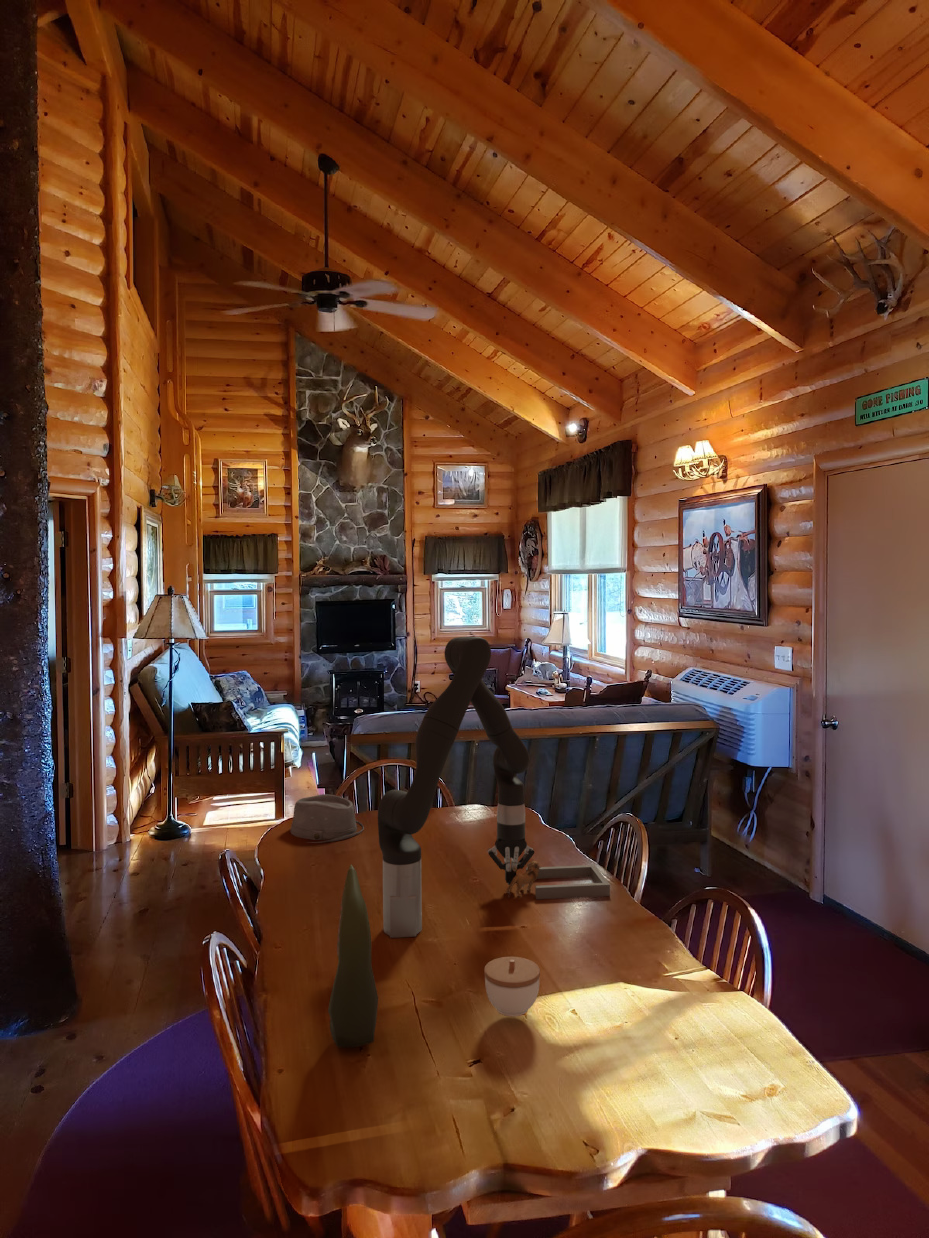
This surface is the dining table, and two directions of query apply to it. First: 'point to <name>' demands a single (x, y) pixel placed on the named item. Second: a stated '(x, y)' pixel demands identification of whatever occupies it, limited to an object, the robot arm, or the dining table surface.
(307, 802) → the fedora
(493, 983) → the lidded jar
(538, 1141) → the dining table surface
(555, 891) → the bay
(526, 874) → the lion figurine
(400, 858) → the robot arm
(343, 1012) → the tentacle
